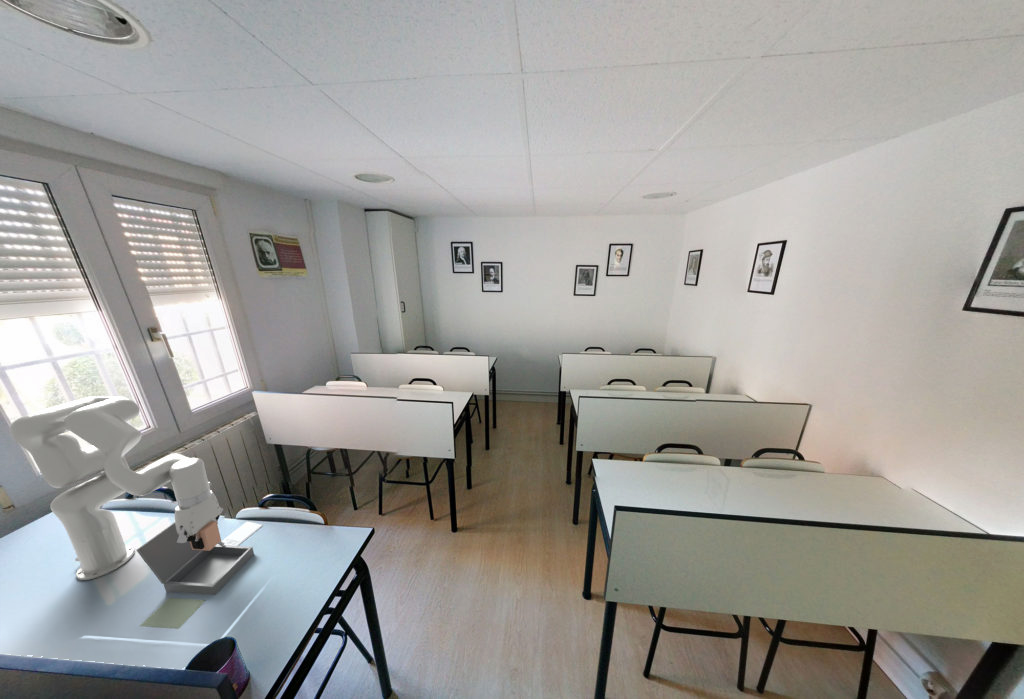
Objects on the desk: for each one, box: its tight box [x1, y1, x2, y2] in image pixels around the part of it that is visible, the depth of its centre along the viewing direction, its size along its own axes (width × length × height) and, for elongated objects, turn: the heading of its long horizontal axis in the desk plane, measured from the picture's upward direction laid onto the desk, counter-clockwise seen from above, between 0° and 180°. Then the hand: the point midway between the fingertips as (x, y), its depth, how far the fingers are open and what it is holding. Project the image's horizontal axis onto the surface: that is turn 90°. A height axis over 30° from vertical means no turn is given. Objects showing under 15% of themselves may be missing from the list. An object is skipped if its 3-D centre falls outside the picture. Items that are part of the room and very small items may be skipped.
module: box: [190, 521, 222, 551], centre depth 102 cm, size 6×4×8 cm, turn 87°
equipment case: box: [135, 521, 255, 596], centre depth 104 cm, size 22×15×17 cm
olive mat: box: [139, 597, 207, 629], centre depth 94 cm, size 12×8×1 cm, turn 88°
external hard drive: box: [217, 521, 264, 546], centre depth 121 cm, size 2×8×12 cm
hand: (206, 541), depth 103 cm, fingers closed on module, 4 cm apart
